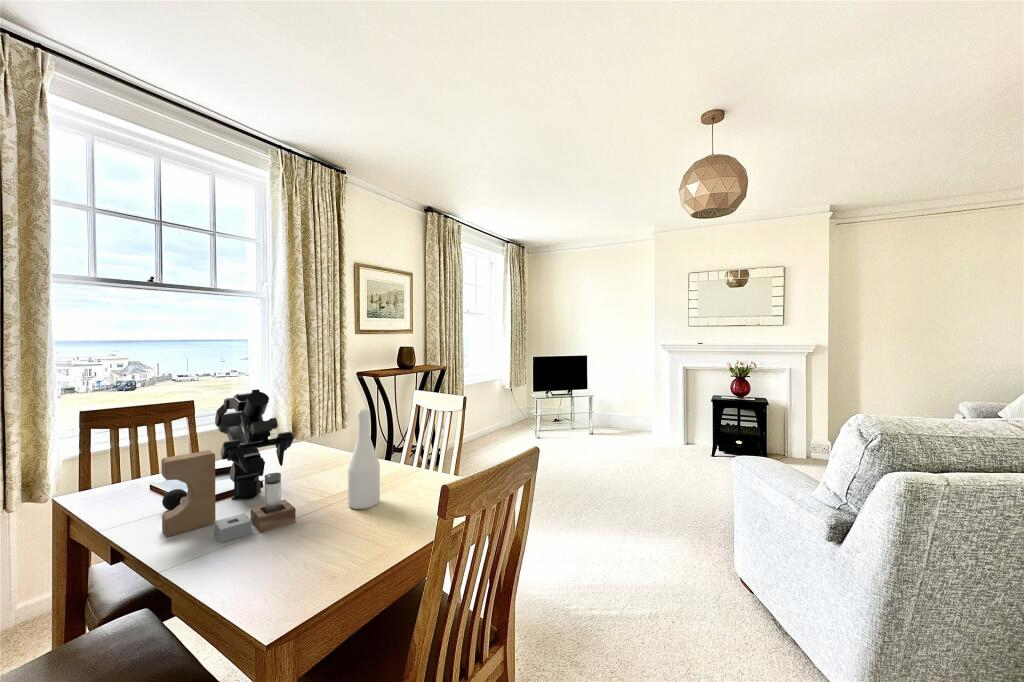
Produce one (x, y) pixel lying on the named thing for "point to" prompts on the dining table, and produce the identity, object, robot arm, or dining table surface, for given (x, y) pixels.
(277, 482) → the cylinder
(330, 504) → the dining table surface
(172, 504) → the billiard ball
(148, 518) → the dining table surface
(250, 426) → the robot arm
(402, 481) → the dining table surface
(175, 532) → the decorative block
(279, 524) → the walnut block
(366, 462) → the wine bottle
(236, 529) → the slate block
